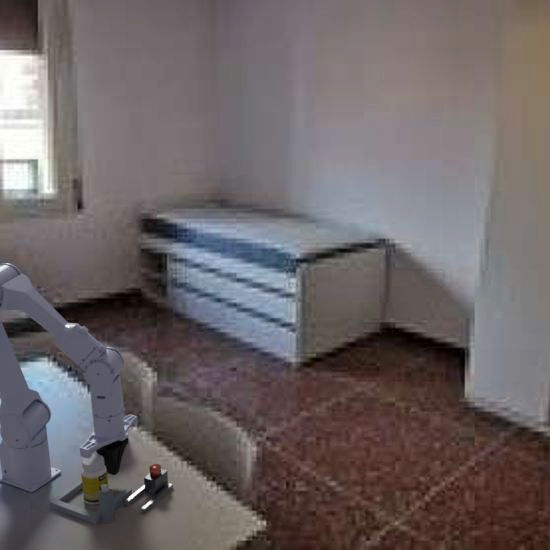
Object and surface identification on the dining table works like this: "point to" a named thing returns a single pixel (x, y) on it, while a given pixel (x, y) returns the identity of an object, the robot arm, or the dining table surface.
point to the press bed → (103, 514)
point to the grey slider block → (155, 480)
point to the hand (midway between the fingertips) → (112, 472)
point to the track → (152, 501)
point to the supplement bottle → (93, 478)
